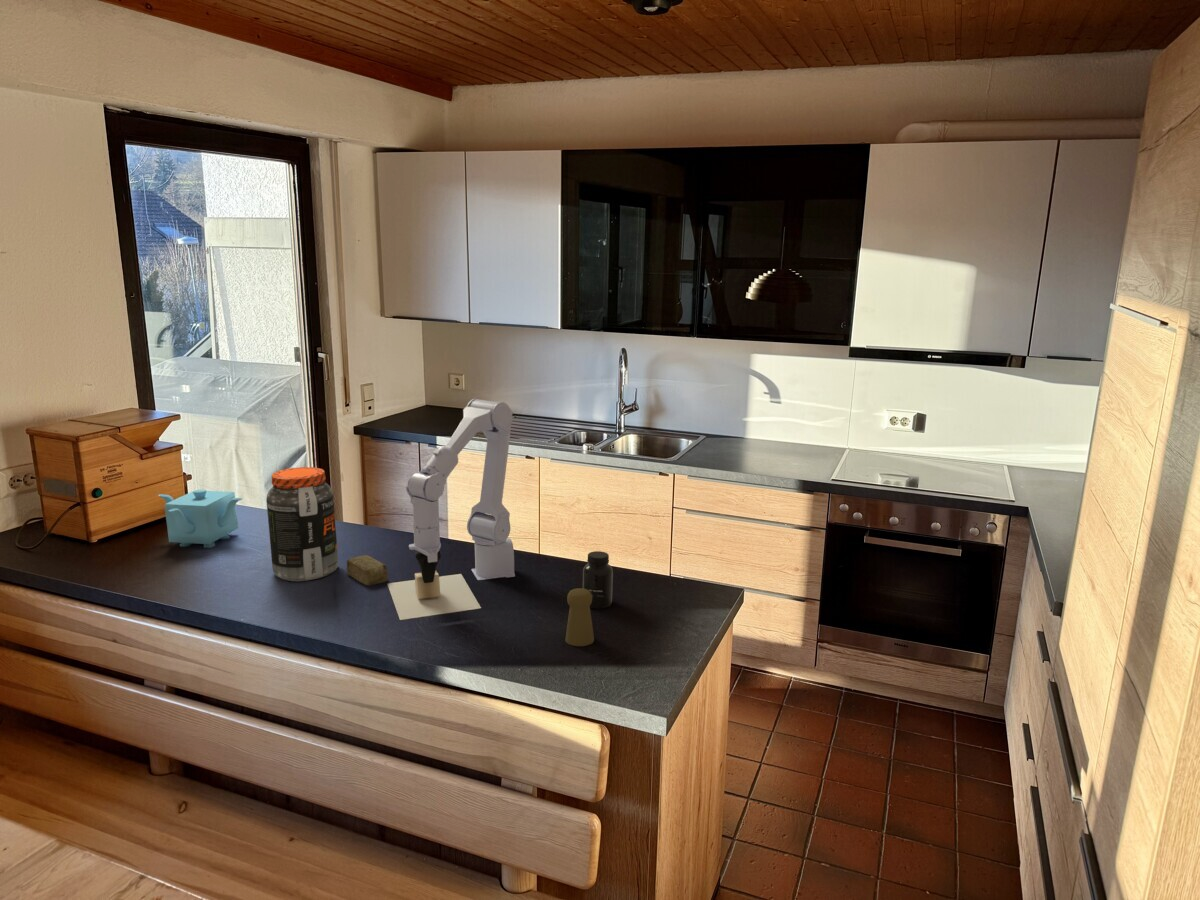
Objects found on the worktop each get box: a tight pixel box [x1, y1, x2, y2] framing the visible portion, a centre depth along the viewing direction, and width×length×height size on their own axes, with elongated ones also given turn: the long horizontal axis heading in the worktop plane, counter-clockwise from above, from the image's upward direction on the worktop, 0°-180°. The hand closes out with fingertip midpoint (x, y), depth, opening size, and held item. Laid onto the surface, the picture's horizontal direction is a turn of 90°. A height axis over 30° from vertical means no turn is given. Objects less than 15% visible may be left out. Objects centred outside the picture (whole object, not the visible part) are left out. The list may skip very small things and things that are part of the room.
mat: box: [387, 573, 482, 621], centre depth 197 cm, size 18×22×1 cm
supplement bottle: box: [582, 550, 614, 610], centre depth 193 cm, size 7×7×12 cm
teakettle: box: [158, 488, 244, 549], centre depth 232 cm, size 19×19×15 cm
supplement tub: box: [265, 466, 339, 582], centre depth 209 cm, size 16×16×26 cm
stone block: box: [346, 554, 389, 587], centre depth 207 cm, size 6×12×5 cm, turn 43°
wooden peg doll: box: [565, 587, 595, 647], centre depth 175 cm, size 6×6×11 cm
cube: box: [414, 570, 440, 599], centre depth 196 cm, size 5×5×5 cm
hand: (428, 582), depth 193 cm, fingers closed, pressing on cube
